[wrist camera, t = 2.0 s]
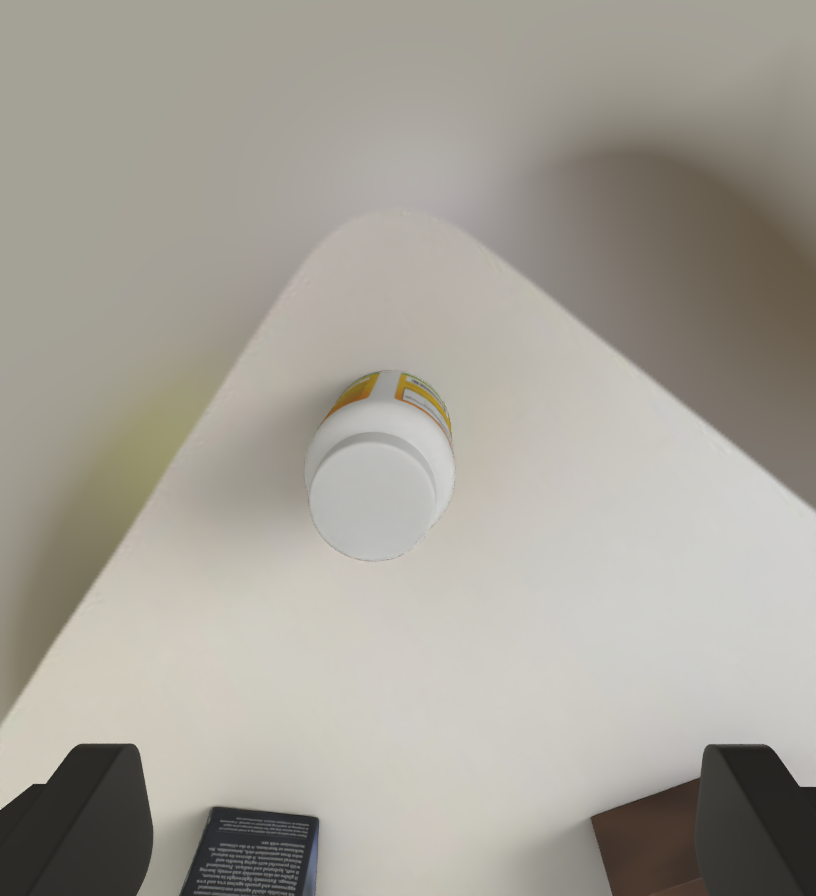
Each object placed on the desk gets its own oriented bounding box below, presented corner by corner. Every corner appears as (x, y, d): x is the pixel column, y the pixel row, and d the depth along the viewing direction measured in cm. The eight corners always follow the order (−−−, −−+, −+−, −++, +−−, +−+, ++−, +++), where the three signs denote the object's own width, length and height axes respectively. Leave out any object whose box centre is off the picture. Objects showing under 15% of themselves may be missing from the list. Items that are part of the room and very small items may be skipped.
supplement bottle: (332, 481, 30) (286, 579, 20) (332, 366, 28) (282, 416, 19) (447, 486, 30) (453, 587, 20) (453, 371, 28) (463, 423, 19)
